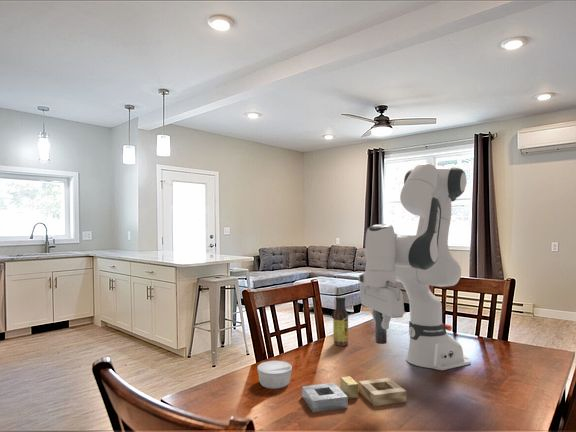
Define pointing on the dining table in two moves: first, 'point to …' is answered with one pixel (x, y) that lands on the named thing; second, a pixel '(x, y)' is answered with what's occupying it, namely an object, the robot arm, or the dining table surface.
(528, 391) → the dining table surface
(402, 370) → the dining table surface
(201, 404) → the dining table surface
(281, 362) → the ramekin
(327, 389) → the socket plate
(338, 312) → the sauce bottle
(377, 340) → the dark grey rounded rod
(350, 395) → the bar
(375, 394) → the block
